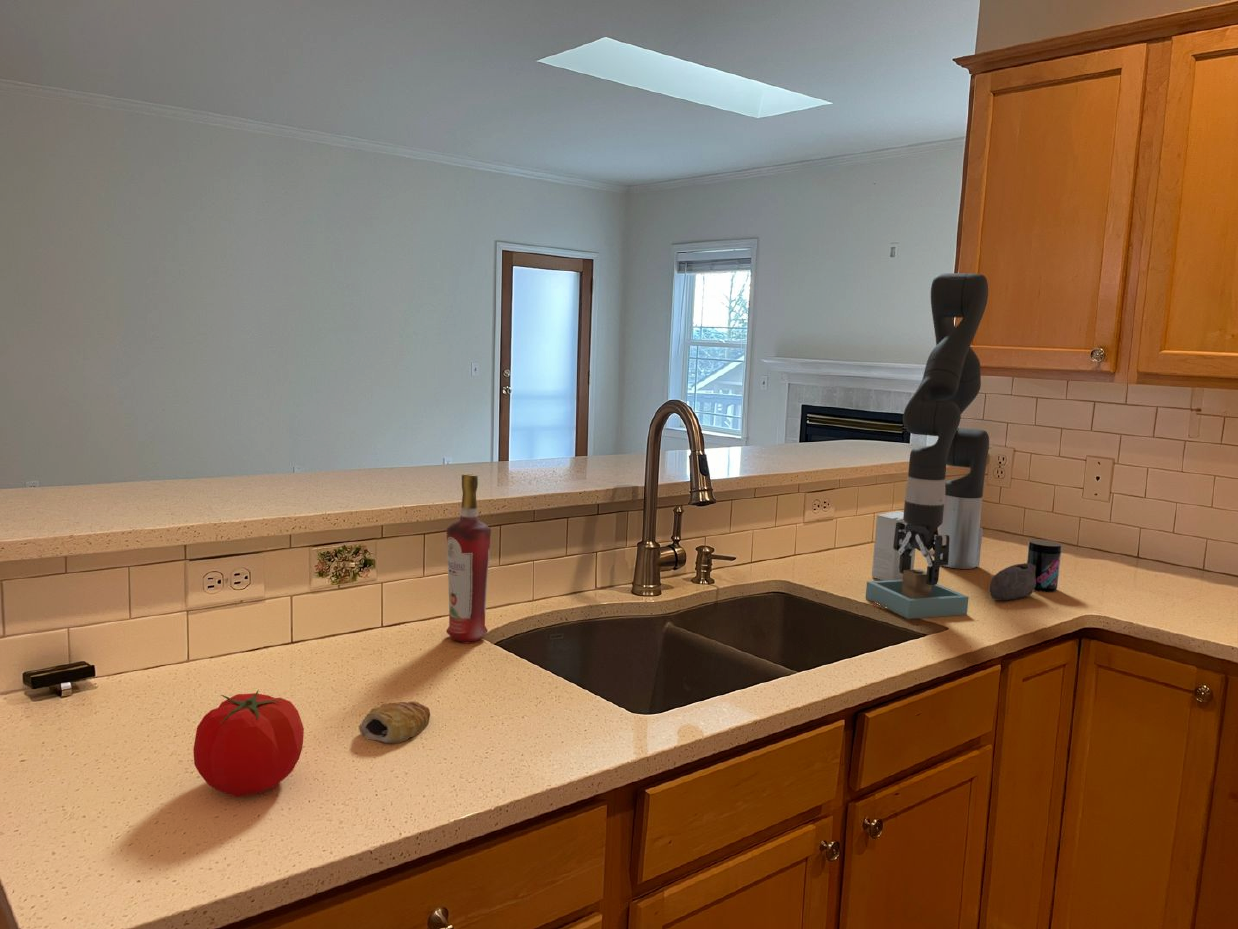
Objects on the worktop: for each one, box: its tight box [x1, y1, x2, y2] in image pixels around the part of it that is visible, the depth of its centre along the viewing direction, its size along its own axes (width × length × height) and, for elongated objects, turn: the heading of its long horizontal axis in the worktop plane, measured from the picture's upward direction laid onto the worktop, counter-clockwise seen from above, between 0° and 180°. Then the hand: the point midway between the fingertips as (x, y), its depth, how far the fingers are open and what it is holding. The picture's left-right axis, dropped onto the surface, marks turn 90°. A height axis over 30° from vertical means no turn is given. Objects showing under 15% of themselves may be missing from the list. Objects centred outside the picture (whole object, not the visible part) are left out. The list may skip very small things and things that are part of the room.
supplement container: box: [1026, 538, 1063, 593], centre depth 202 cm, size 7×7×10 cm
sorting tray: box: [865, 579, 969, 620], centre depth 184 cm, size 14×14×4 cm
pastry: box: [358, 701, 431, 744], centre depth 118 cm, size 9×7×4 cm
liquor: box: [446, 473, 492, 643], centre depth 152 cm, size 7×7×28 cm
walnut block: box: [901, 568, 932, 599], centre depth 184 cm, size 4×4×7 cm
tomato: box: [192, 689, 305, 798], centre depth 102 cm, size 12×12×10 cm
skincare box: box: [871, 510, 916, 581], centre depth 205 cm, size 8×6×15 cm
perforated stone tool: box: [988, 562, 1036, 601], centre depth 193 cm, size 15×5×7 cm, turn 124°
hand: (917, 578), depth 184 cm, fingers open, 8 cm apart
